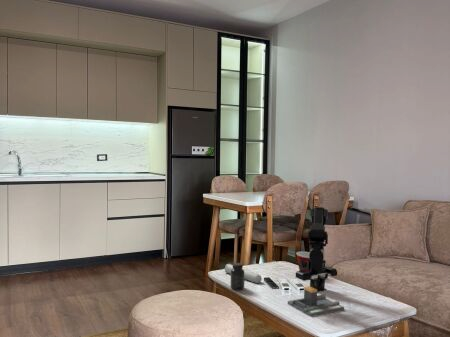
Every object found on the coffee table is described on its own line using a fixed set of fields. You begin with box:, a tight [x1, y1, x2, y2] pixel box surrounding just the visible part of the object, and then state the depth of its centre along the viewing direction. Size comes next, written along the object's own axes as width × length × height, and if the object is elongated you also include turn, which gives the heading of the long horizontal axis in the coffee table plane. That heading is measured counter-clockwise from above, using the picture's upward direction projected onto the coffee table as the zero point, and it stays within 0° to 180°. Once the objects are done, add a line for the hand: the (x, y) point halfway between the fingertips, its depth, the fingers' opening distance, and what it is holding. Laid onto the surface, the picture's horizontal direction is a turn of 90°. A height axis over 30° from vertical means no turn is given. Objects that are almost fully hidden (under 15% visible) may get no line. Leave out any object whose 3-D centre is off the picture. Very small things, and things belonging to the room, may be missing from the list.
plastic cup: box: [295, 251, 310, 272], centre depth 226 cm, size 11×11×12 cm
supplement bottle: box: [230, 262, 245, 291], centre depth 202 cm, size 7×7×12 cm
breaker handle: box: [303, 285, 318, 306], centre depth 177 cm, size 3×5×7 cm, turn 27°
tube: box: [224, 263, 263, 284], centre depth 220 cm, size 5×5×25 cm
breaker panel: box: [287, 294, 345, 318], centre depth 179 cm, size 18×16×3 cm
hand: (316, 292), depth 179 cm, fingers closed
